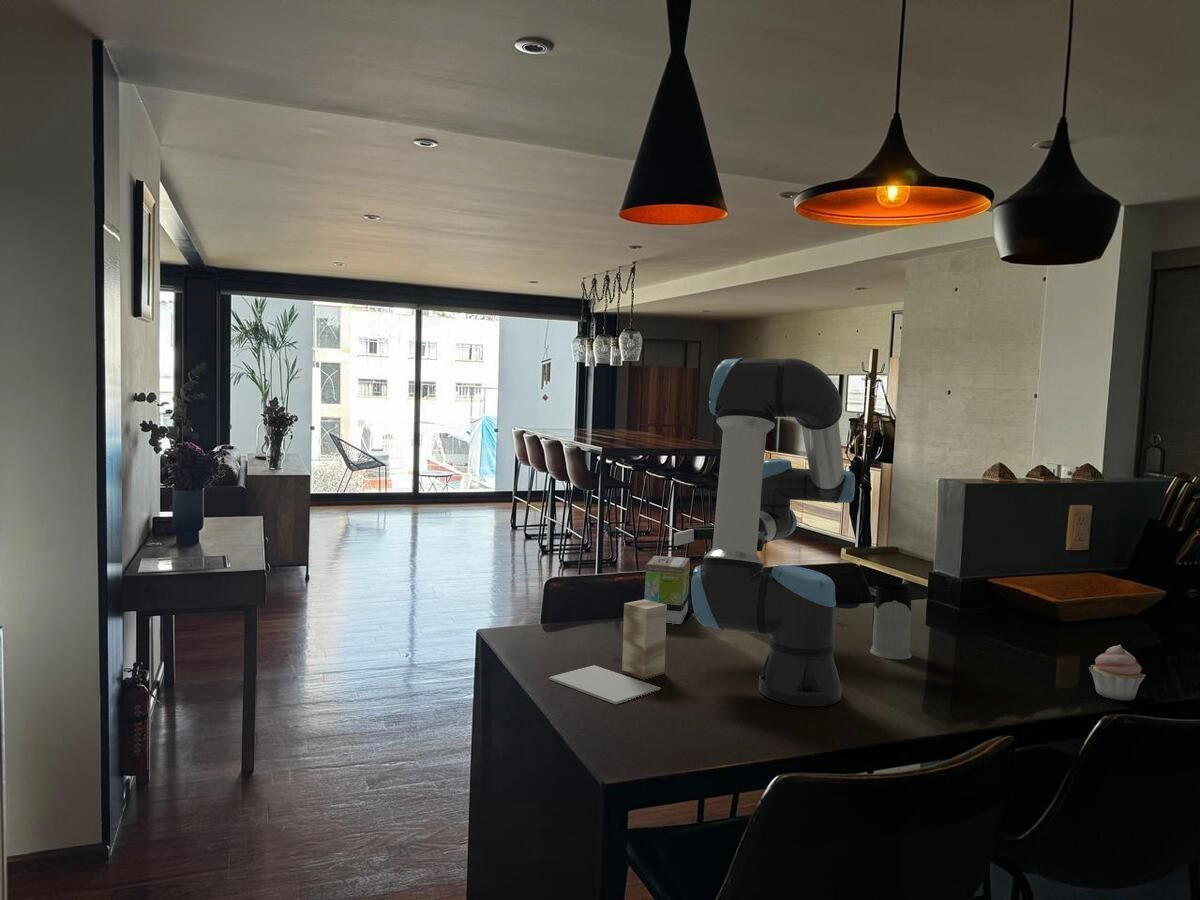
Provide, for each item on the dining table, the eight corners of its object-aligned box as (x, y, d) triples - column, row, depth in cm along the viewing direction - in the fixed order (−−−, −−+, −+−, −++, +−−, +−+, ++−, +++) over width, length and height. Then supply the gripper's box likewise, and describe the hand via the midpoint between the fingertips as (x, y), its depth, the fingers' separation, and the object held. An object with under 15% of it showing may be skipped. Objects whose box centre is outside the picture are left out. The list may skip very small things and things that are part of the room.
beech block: (664, 674, 167) (666, 604, 166) (644, 680, 163) (646, 609, 162) (642, 667, 171) (644, 599, 171) (621, 672, 167) (623, 603, 166)
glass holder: (871, 657, 183) (874, 589, 182) (866, 640, 197) (869, 577, 196) (914, 661, 181) (917, 592, 180) (906, 644, 195) (909, 580, 194)
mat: (660, 690, 157) (660, 687, 157) (615, 704, 149) (615, 701, 149) (593, 667, 170) (594, 665, 170) (549, 679, 161) (549, 676, 161)
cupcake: (1132, 707, 155) (1135, 654, 155) (1079, 693, 163) (1081, 642, 162) (1153, 698, 161) (1156, 647, 160) (1100, 685, 168) (1103, 635, 168)
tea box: (682, 626, 206) (684, 566, 205) (642, 622, 208) (644, 563, 207) (688, 612, 221) (690, 556, 220) (650, 609, 223) (652, 554, 222)
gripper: (801, 553, 186) (752, 571, 170) (707, 538, 203) (654, 552, 187) (802, 520, 186) (753, 534, 170) (707, 507, 202) (654, 519, 186)
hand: (701, 544), depth 178 cm, fingers open, 13 cm apart
